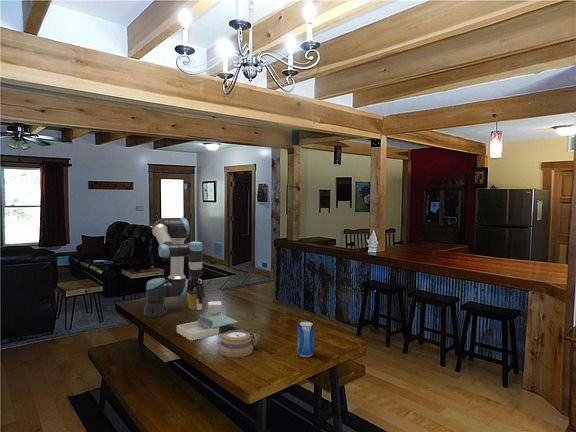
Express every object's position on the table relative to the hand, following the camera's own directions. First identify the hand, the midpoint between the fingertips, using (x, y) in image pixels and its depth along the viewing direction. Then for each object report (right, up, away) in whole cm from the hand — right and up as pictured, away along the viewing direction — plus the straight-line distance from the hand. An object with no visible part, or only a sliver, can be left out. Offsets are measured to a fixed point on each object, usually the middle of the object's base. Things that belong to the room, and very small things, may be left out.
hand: (194, 307), depth 222 cm
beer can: (+63, -18, -25) cm, 70 cm away
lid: (+11, -11, +11) cm, 19 cm away
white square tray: (+1, -16, +2) cm, 16 cm away
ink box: (+6, -15, +26) cm, 30 cm away
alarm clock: (+29, -18, -20) cm, 39 cm away
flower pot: (0, -1, 0) cm, 1 cm away
